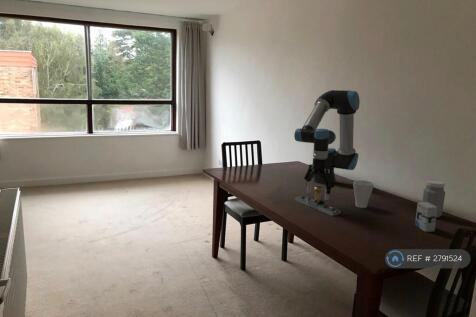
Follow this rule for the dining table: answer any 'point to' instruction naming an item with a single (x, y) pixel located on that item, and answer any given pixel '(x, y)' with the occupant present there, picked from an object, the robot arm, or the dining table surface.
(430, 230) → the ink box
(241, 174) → the dining table surface
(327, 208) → the grey long bar piece
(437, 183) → the jar
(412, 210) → the dining table surface
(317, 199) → the pin
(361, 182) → the cup
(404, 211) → the dining table surface
